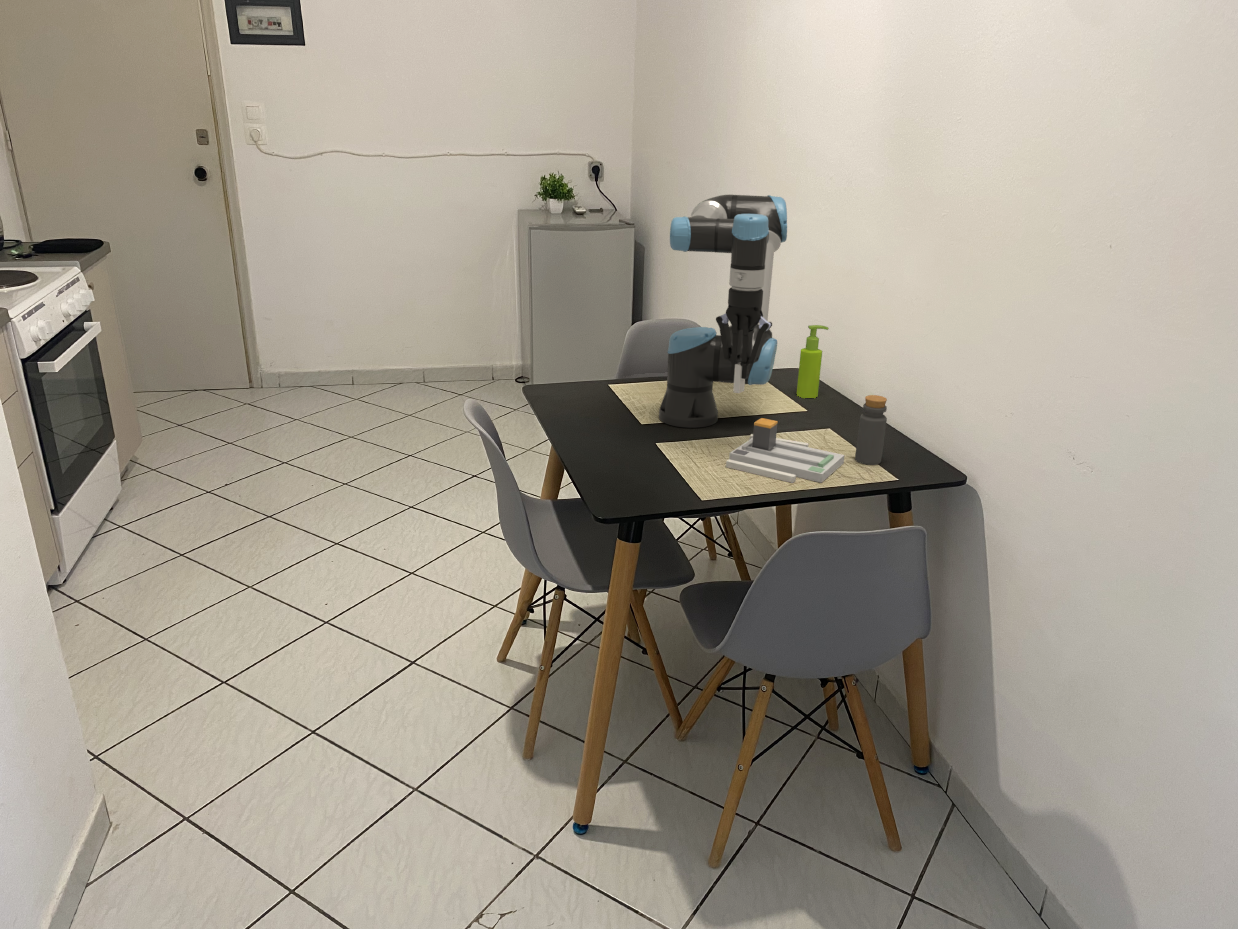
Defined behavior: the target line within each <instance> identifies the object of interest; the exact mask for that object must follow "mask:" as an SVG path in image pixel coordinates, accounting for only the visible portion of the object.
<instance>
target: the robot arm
mask: <svg viewBox="0 0 1238 929" xmlns="http://www.w3.org/2000/svg"><path fill="white" fill-rule="evenodd" d="M787 238H788V211H787V203H786V200H785V199H784V198H783V197H782V196H773V195H770V194H768V195H749V194H746V195H745V194H743V195H742V194H721V195H716V196H713V197H710V198H707V199H705V200H702V201H700V202H699V203H698V204H697V205H695V207H694V208H693V209H692V211H691V214H690V216H674V218H672V219H671V223H670V229H669V247H670V248H671V249H672V250H673V251H678V252H679V251H680V252H684V253H685V252H686V253H687V252H702V253H703V252H704V253H716V254H717V253H721V254H730V256H731V257H730V266H729V267H730V269H729V282H728V283H729V286H730V287H729V289H728V297H727V305H728V306H727V308H726V310H725V313H723V314H721V315H718V316H716V318H715V321H716V323H717V325H718V327H719V334H718V335H717V330H716V329H715V328H714V327H706V326H696V327H687V328H683V329H679V330H677V331H675V332H673V333H672V334H671V335H670V337H669V342H668V349H667V355H668V356H667V375H666V376H667V377H666V378H667V379H666V382H667V383H666V390H665V393H664V396H663V398H662V401H661V403H660V407H659V408H658V409H659V410H658V412H659V413H658V418H659V420H660V421H661V422H662V423H664V424H666V425H669V426H673V427H678V428H688V429H692V428H693V429H695V428H696V429H697V428H705V427H709V426H712V425H714V424H716V423H717V422H718V418H719V416H718V415H719V412H718V411H719V410H718V408H717V404H716V400H715V397H714V391H713V390H714V389H713V388H714V385H713V384H714V382H715V383H725V384H728V383H729V384H733V388H732V390H733V391H732V392H733V393H735V394H740V393H742V392H744V391H745V386H746V385H748V386H753V385H766V384H768V382H769V381H770V379H771V377H772V373H773V369H774V364H775V359H776V355H777V354H776V353H777V349H778V339H776V338H774V337H773V332H772V330H771V328H772V326H773V322H772V321H768V319H769V310H770V309H769V308H770V300H771V299H770V297H771V287H772V278H773V276H772V275H773V266H774V254H775V253H776V252H777V251H778V250H779V249H780V248H781V244H782V243H784V242H786V241H787ZM729 323H730V325H729Z"/></svg>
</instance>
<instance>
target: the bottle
mask: <svg viewBox="0 0 1238 929" xmlns="http://www.w3.org/2000/svg"><path fill="white" fill-rule="evenodd" d="M864 399H865V400H864V401H865V403H863V405H862V410H863V411H864V412H863V413H861V415H860V416H859V423H858V430H857V439H856V447H855V455H854V460H855V462H858V463H859V464H863V465H869V466H874V465H875V466H876V465H879V464H881V462H882V458H883V450H884V443H885V435H886V427H887V419H888V418H887V416H885V414H884V413H886V412H887V410H888V409H887V405H886V403H887V401H888V399H887V397H885V396H883V395H876V394H875V395H874V394H872V395H871V394H870V395H866V396H865V397H864Z"/></svg>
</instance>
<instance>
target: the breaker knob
mask: <svg viewBox="0 0 1238 929" xmlns="http://www.w3.org/2000/svg"><path fill="white" fill-rule="evenodd" d="M777 432H778V420H773V419H768V418H763V417H761V418H759V419H757V420H756V421H755V422H754V423H753V432H752V434H753V444H752V447H754V448H758V449H763V450H767V451H769V450H770V449H772V448H773V447H775V445H776V438H777V435H778V434H777Z"/></svg>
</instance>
